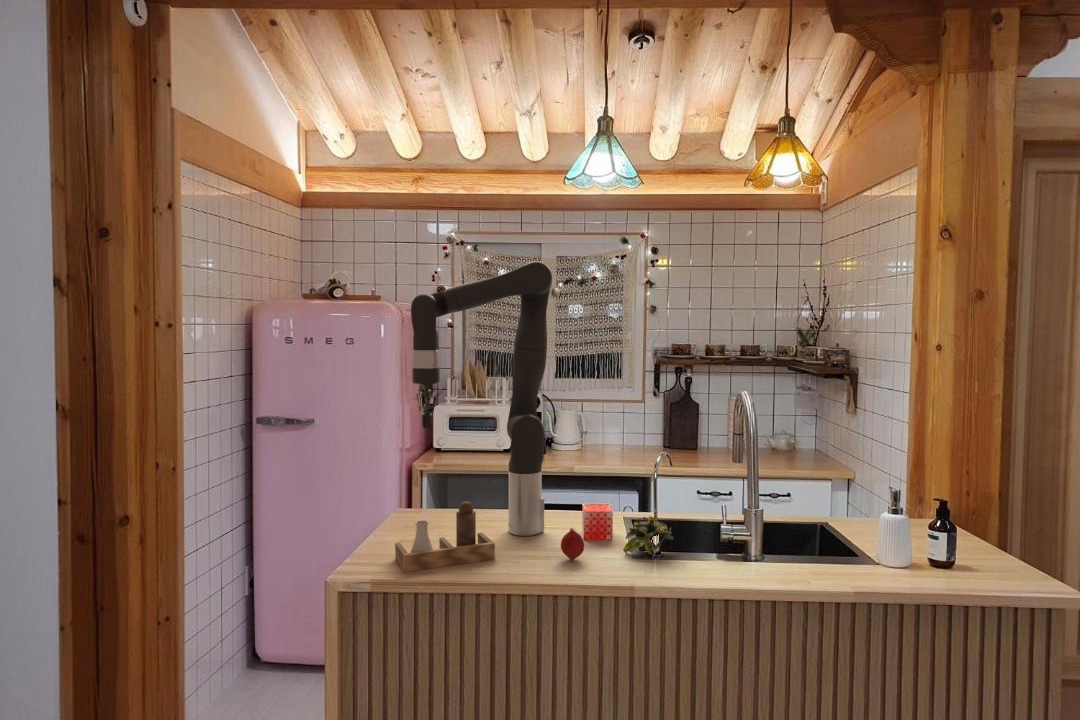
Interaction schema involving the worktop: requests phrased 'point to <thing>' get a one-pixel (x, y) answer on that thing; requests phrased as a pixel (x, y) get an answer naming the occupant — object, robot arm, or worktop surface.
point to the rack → (445, 554)
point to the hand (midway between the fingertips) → (426, 427)
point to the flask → (421, 538)
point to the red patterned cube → (597, 522)
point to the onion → (572, 544)
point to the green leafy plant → (647, 535)
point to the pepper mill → (465, 525)
